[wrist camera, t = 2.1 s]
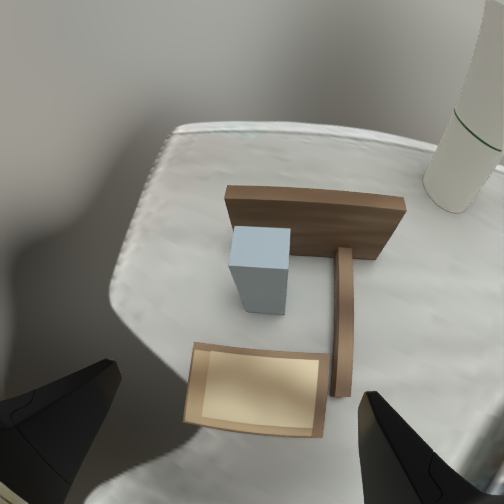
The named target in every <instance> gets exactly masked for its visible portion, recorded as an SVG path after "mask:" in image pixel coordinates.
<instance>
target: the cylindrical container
mask: <svg viewBox="0 0 504 504" xmlns="http://www.w3.org/2000/svg"><path fill="white" fill-rule="evenodd" d="M503 155H504V5H503V4H501V3H499V2H497V1H495V0H486V2H485V8H484V13H483V18H482V23H481V27H480V31H479V35H478V39H477V44H476V47H475V50H474V54H473V57H472V61H471V64H470V67H469V70H468V73H467V76H466V79H465V82H464V85H463V88H462V91H461V93H460V96H459V99H458V101H457V104H456V106H455V109H454V111H453V113H452V116H451V118H450V121H449V123H448V125H447V128H446V130H445V132H444V134H443V137H442V139H441V141H440V143H439V145H438V148H437V150H436V152H435V154H434V156H433V158H432V160H431V162H430V164H429V166H428V168H427V170H426V172H425V174H424V177H423V183H424V187H425V189H426V191H427V193H428V195H429V196H430V197H431V199H432V200H433V201H434V202H435V203H436V204H437V205H439V206H440V207H441V208H443V209H445V210H447V211H449V212H452V213H461V212H463V211H464V210H465V209H466V208H467V207H468V205H469V204H470V203H471V202H472V200H473V199H474V198H475V196H476V195H477V194H478V192H479V191H480V189H481V188H482V187H483V185H484V184H485V182H486V181H487V179H488V178H489V177H490V175H491V174H492V172H493V171H494V169H495V168H496V166H497V164H498V163H499V161H500V160H501V158H502V156H503Z"/></svg>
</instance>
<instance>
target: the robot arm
mask: <svg viewBox="0 0 504 504" xmlns="http://www.w3.org/2000/svg"><path fill="white" fill-rule="evenodd" d="M121 380H122V377H121V373H120V370H119V367H118V364H117V362H116V361H115V360H112V359H109V358H106V359H103V360H101V361H99V362H97V363H95V364H92V365H90V366H88V367H86V368H83V369H81V370H79V371H77V372H74V373H72V374H70V375H67V376H65V377H63V378H60V379H58V380H56V381H54V382H51V383H49V384H46V385H44V386H42V387H39V388H37V389H34V390H32V391H30V392H27V393H24V394H22V395H19V396H16V397H13V398H10V399H6V400H3V401H0V504H64V502H65V499H66V497H67V495H68V493H69V491H70V488H71V486H72V484H73V482H74V479H75V478H76V475H77V473H78V471H79V469H80V467H81V465H82V463H83V461H84V459H85V457H86V455H87V453H88V451H89V449H90V447H91V445H92V443H93V441H94V439H95V437H96V435H97V433H98V431H99V429H100V427H101V426H102V424H103V422H104V420H105V418H106V416H107V414H108V412H109V410H110V408H111V405H112V403H113V400H114V398H115V395H116V393H117V390H118V388H119V385H120V383H121ZM358 446H359V457H360V465H361V474H362V483H363V494H364V504H504V496H503V495H490V494H487V493H484V492H482V491H480V490H479V489H477V488H476V487H475V486H473V485H472V484H471V483H469V482H468V481H467V480H465V479H464V478H463V477H462V476H460V475H459V474H458V473H457V472H455V471H454V470H453V469H452V468H451V467H450V466H449V465H447V464H446V463H445V462H444V461H443V460H442V459H441V458H440V457H439V456H438V455H437V454H436V453H435V452H433V450H432V448H431V447H430V446H429V445H428V444H427V443H426V442H425V441H424V440H423V439H422V438H421V437H420V436H419V435H418V434H417V433H416V432H415V431H414V430H413V429H412V428H411V427H410V425H409V424H408V423H407V422H406V421H405V420H404V419H403V418H402V417H401V416H400V415H399V414H398V413H397V412H396V411H395V410H394V409H393V408H392V407H391V406H390V404H389V403H388V402H387V401H386V400H385V399H384V398H383V397H382V396H381V395H380V394H379V393H378V392H377V391H366V392H365V393H364V395H363V397H362V400H361V402H360V405H359V407H358Z"/></svg>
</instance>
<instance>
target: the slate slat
mask: <svg viewBox="0 0 504 504" xmlns="http://www.w3.org/2000/svg"><path fill="white" fill-rule="evenodd" d="M289 249H290V229H287V228H268V227H247V226H235V227H234V233H233V239H232V245H231V251H230V257H229V263H228V266H229V269H230V271H231V274H232V276H233V279H234V282H235V284H236V287H237V289H238V292H239V294H240V297H241V299H242V302H243V304H244V306H245V309H246V311H247V312H254V313H266V314H280V315H284V313H285V303H286V291H287V279H288V266H289Z"/></svg>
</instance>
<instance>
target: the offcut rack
mask: <svg viewBox="0 0 504 504" xmlns="http://www.w3.org/2000/svg"><path fill="white" fill-rule="evenodd" d="M224 199H225V203H226V207H227V210H228V214H229V218H230V221H231V225H232V228H233V232H234V227H235V226H247V227H268V228H287V229H290V249H289V255H300V256H317V257H334V260H335V318H334V347H333V365H332V379H331V392H330V396H332V397H351V385H352V369H353V345H354V287H353V262H352V259H368V260H376V259H377V257H378V256H379V254H380V252H381V251H382V249H383V248H384V246H385V245H386V243H387V242H388V240H389V239H390V237H391V235H392V234H393V232H394V231H395V229H396V227H397V226H398V224H399V223H400V221H401V219H402V218H403V216H404V214H405V213H406V211H407V210H406V206H405V202H404V198H403V197H396V196H388V195H379V194H370V193H360V192H349V191H338V190H325V189H310V188H293V187H271V186H232V185H227V188H226V193H225V198H224ZM329 365H330V354H323V353H299V352H283V351H269V350H257V349H247V348H238V347H229V346H221V345H213V344H206V343H199V342H194V346H193V352H192V359H191V365H190V372H189V379H188V386H187V395H186V401H185V409H184V417H183V422H184V423H189V424H193V425H198V426H203V427H208V428H214V429H220V430H226V431H232V432H240V433H247V434H256V435H267V436H280V437H300V438H322V437H323V429H324V421H325V412H326V402H327V391H328V379H329Z"/></svg>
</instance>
